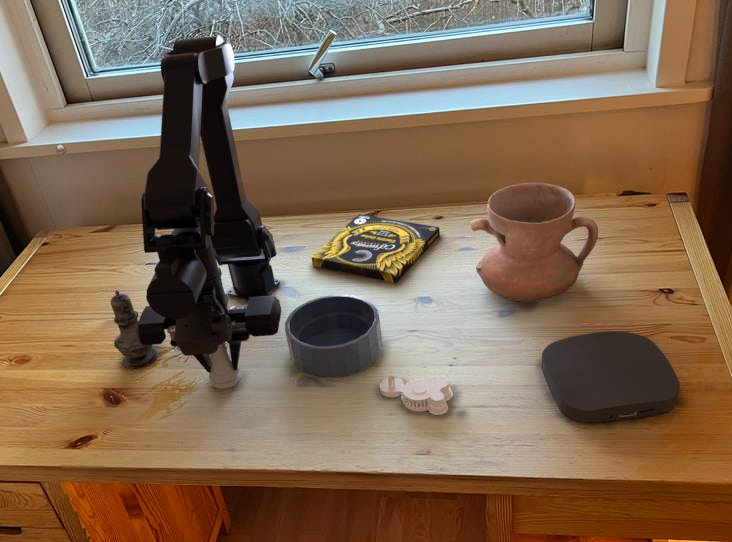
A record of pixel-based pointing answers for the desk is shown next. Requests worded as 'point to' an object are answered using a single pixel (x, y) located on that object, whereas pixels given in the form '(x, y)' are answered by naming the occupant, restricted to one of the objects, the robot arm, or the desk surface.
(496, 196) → the ceramic jug
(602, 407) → the media streaming box
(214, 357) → the rook chess piece
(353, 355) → the basin
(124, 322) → the bishop chess piece
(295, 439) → the desk surface
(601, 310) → the desk surface
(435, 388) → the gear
